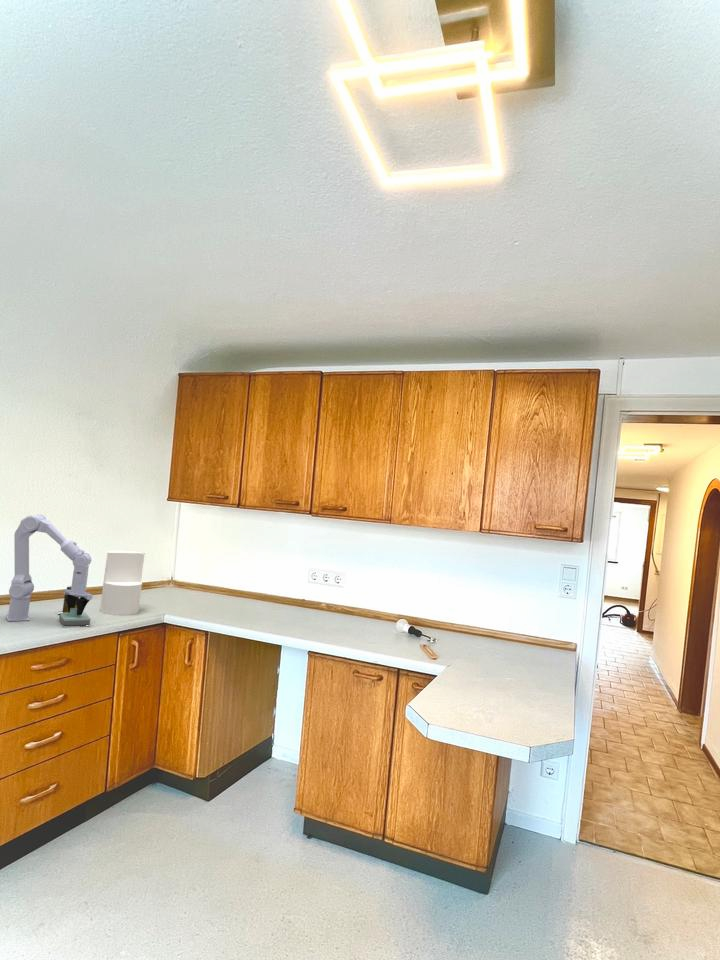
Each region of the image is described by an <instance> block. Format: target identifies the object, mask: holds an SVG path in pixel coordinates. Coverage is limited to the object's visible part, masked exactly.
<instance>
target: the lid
mask: <svg viewBox="0 0 720 960" xmlns="http://www.w3.org/2000/svg"><path fill="white" fill-rule="evenodd" d="M59 616H61V617H62V619H63V620H64V621H82V620H90V621H91V618H90V616H89V615H88V614H87V612H86V611H85V612H84V611H83V613H82V615H77V608H70V613H60V615H59Z"/></svg>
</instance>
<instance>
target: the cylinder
mask: <svg viewBox="0 0 720 960" xmlns="http://www.w3.org/2000/svg"><path fill="white" fill-rule="evenodd" d="M144 561H145V553H144V552H140V551H134V550H118V549H117V550H115V549H113V550H108V551H107V553H106V561H105V569H104V576H103V584H102V592H101V598H100V606H99V607H100V608H99V612H100V613H103V614H104V615H105V614H106V615H113V616H130V615H136V614H138V613H139V612H140V611H139V610H140V602H141V596H142V595H141V594H142V586H143V582H142V575H143V570H144Z"/></svg>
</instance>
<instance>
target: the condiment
mask: <svg viewBox="0 0 720 960" xmlns="http://www.w3.org/2000/svg"><path fill="white" fill-rule="evenodd" d="M71 586H72V585H71ZM71 586H67V587H66V589H69V590H71ZM66 589H65V590H66ZM65 596H68V595H67V594H64V596H63V604H62V611H61V612H63V613H69V612H68V606H67V602H66V600H65ZM78 598H80V597H78ZM75 608H77V601H76V604H75Z"/></svg>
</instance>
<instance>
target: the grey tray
mask: <svg viewBox="0 0 720 960" xmlns="http://www.w3.org/2000/svg"><path fill="white" fill-rule="evenodd" d="M58 616H59V617H58V621H59V620H60V621H59V622H61V623H60V625H61V626H62V625H63V626H80V627H87V626H86V625H91V619H90V620H82V621H64V620H63V619H62V617H61V616H60V615H58ZM63 626H62V627H63Z"/></svg>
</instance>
